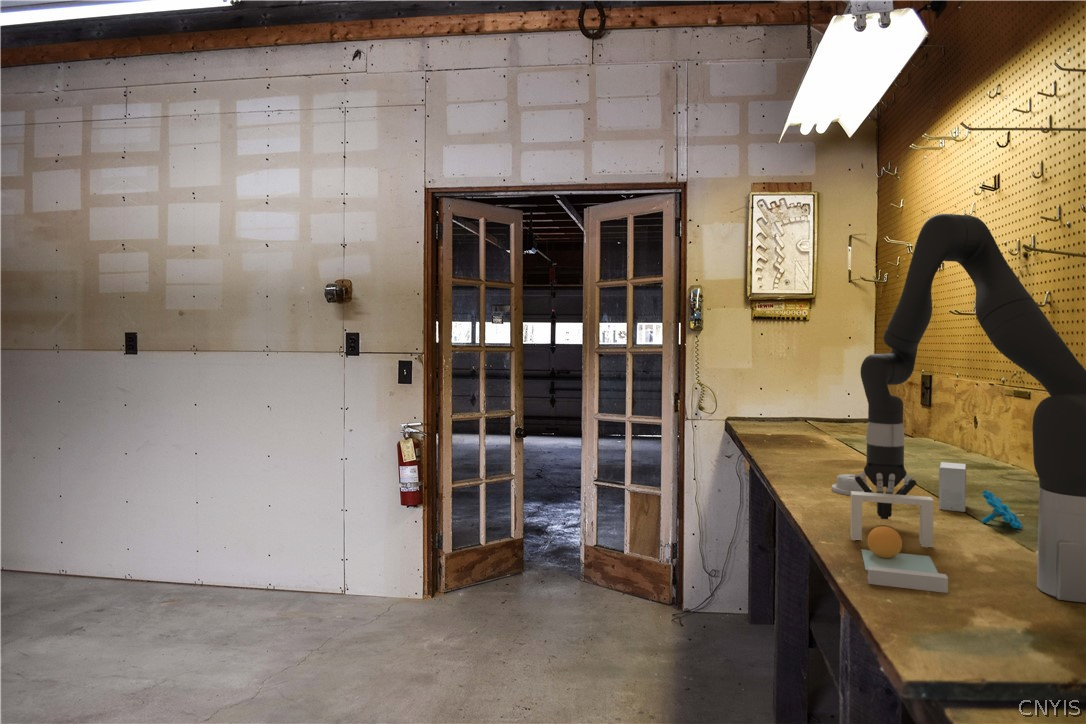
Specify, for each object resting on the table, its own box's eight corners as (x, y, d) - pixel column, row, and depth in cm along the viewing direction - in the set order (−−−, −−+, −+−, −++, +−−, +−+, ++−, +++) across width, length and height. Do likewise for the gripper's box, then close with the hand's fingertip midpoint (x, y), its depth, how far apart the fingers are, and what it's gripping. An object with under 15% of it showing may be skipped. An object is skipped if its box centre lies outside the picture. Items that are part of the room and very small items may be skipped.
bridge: (932, 547, 136) (933, 500, 136) (851, 540, 142) (851, 494, 141) (930, 543, 139) (931, 496, 138) (850, 536, 144) (850, 491, 144)
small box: (965, 512, 161) (966, 469, 161) (938, 509, 164) (938, 467, 164) (965, 505, 168) (966, 463, 168) (939, 502, 171) (940, 461, 171)
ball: (902, 535, 133) (903, 564, 129) (868, 533, 136) (869, 562, 132) (900, 521, 129) (902, 551, 125) (865, 520, 132) (866, 549, 128)
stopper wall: (947, 593, 113) (948, 578, 113) (868, 583, 117) (868, 569, 117) (945, 588, 115) (945, 574, 115) (867, 579, 119) (867, 565, 119)
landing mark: (940, 578, 119) (940, 577, 119) (865, 570, 124) (865, 569, 124) (929, 557, 130) (929, 556, 130) (861, 550, 135) (861, 549, 135)
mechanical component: (879, 496, 179) (860, 487, 189) (879, 480, 179) (860, 472, 189) (841, 497, 179) (825, 488, 189) (842, 480, 179) (825, 472, 189)
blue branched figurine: (1019, 527, 144) (982, 489, 149) (995, 543, 146) (960, 504, 152) (1030, 523, 151) (994, 487, 157) (1007, 538, 154) (973, 502, 160)
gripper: (853, 443, 150) (853, 520, 151) (921, 446, 145) (920, 525, 146) (851, 438, 157) (851, 511, 158) (916, 441, 152) (915, 516, 153)
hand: (884, 518), depth 152 cm, fingers closed
